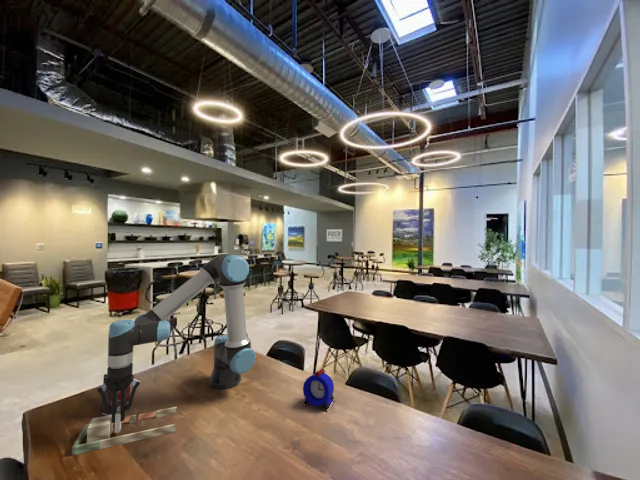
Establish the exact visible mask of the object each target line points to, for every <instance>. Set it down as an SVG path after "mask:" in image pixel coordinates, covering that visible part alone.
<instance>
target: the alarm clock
mask: <svg viewBox="0 0 640 480" xmlns="http://www.w3.org/2000/svg"><path fill="white" fill-rule="evenodd" d="M325 371H326V370H325V369H324V368H321V369H319V370H317V371H316V372H314V373H313V374H312V375H310V376H309V377H307V378H306V379H305V381H304V382H303V386H302V393H303V396H304V399H305V400H304V401H303V403H302V405H303V404H305V405H304V406H307V405H312V406H314V407H320V408H321V409H323V410H325V409H326V410H327V409H328V408H329V406H330V404H331V402H332V401H333V399H335V398H334V391H335V387H334V386H335V385H334V382H333V379H332V377H331V376H330V375H328V373H326V372H325ZM326 410H325V411H326Z"/></svg>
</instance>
